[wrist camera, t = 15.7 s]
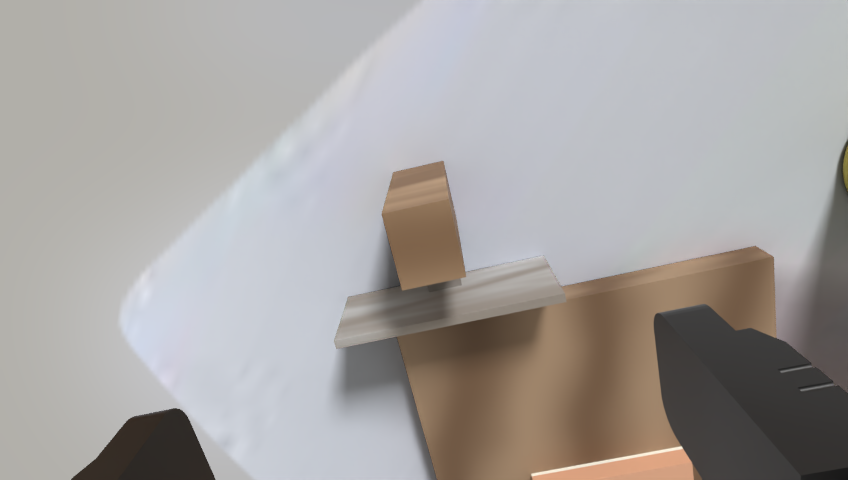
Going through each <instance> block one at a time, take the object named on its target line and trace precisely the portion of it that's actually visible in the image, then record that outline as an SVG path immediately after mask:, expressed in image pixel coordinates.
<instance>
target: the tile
mask: <svg viewBox="0 0 848 480" xmlns="http://www.w3.org/2000/svg"><path fill="white" fill-rule="evenodd" d="M531 476H532V480H694V476H693V466H692V462H691V460H690V459H689V457H688V456H687V454H686V453H685V451H684V449H683V448H682V446H681V447H675V448H670V449H664V450H659V451H653V452H648V453H642V454H637V455H631V456H626V457H620V458H615V459H609V460H604V461H598V462H593V463H587V464H582V465H576V466H571V467H565V468H560V469H554V470H549V471H543V472H538V473H533V474H531Z"/></svg>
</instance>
